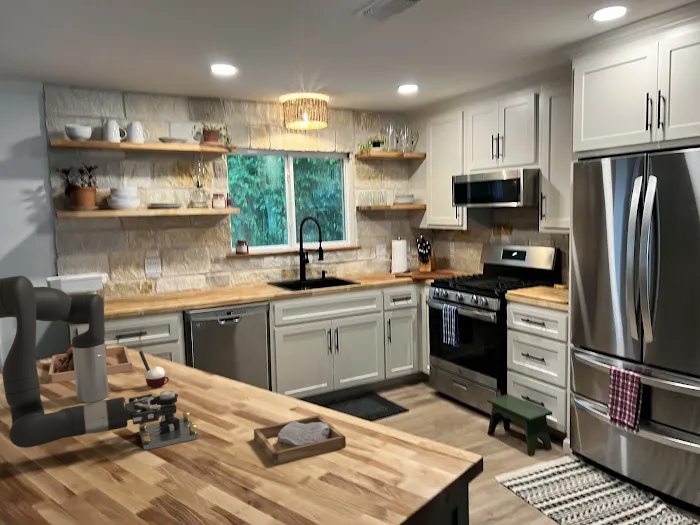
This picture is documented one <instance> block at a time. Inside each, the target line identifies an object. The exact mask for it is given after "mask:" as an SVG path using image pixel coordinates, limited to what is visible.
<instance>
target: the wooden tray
mask: <svg viewBox="0 0 700 525" xmlns="http://www.w3.org/2000/svg"><path fill="white" fill-rule="evenodd" d="M127 348H128V347H127V346H126V345H123V346H121V345H120V346H114V347H106V350H105V352H106V357H108V356H109V357H110V356H115V355H117V356H118V355H124V358H125V362H124V363H118V364H112V365H107V376H109V375H114V374H121V373H126V372H133V364H132V363H133V362H132V360H131V357H130V355H129V351H128V349H127ZM66 354H67V353H61V354H55V355H52V358H51V361H50V365H49V371H48V374H47V375H48V384H54V383H60V382H61V383H62V382H68V381H74V380H75V371H69V372H68V371H64V372H59V373H56V365H57V364H61V362H59V361H58V360H59V359H62V360H63V358H64V357H66ZM65 363H67V360H66V361H65Z"/></svg>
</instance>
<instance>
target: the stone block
mask: <svg viewBox="0 0 700 525" xmlns="http://www.w3.org/2000/svg"><path fill="white" fill-rule="evenodd" d="M291 421H292V422H291V423H289V424H288V425H286V426H285V427H284V428H282V429H281V431H280V432H279V434H278V435H277V444H278V445H280V446H283V447H287V448H293V447H297V446H302V445H306V444H310V443H314V442H318V441H322V440H327V439H330V437H329V435H330V429H329V427H328V425H327V424H324V423H322V422H312V423H309V424H303V423H299V422H297V421H294V420H291Z"/></svg>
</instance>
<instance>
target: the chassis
mask: <svg viewBox="0 0 700 525" xmlns="http://www.w3.org/2000/svg"><path fill="white" fill-rule="evenodd" d="M190 413H191V412H190V411H184V412H182V418H178V419H179V421H180V428H179V429H175V430H173V431H169V432H166V433H162V432H158V433H154V432H156V431H159V429H156V430H155V428H158V427H159V422H158V423H151V424H148V425H147V423H141V424H138V432H139V435H140V436H139V437H140V440H141V443H142V447H143V450H144V451H147V450H151V449H152V450H153V449H158V448H162V447H165V446H170V445H175V444H180V443H186V442H189V441H194V440H198V439H199V433H198V427H197V423H193V422H192V420H191V415H190Z"/></svg>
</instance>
